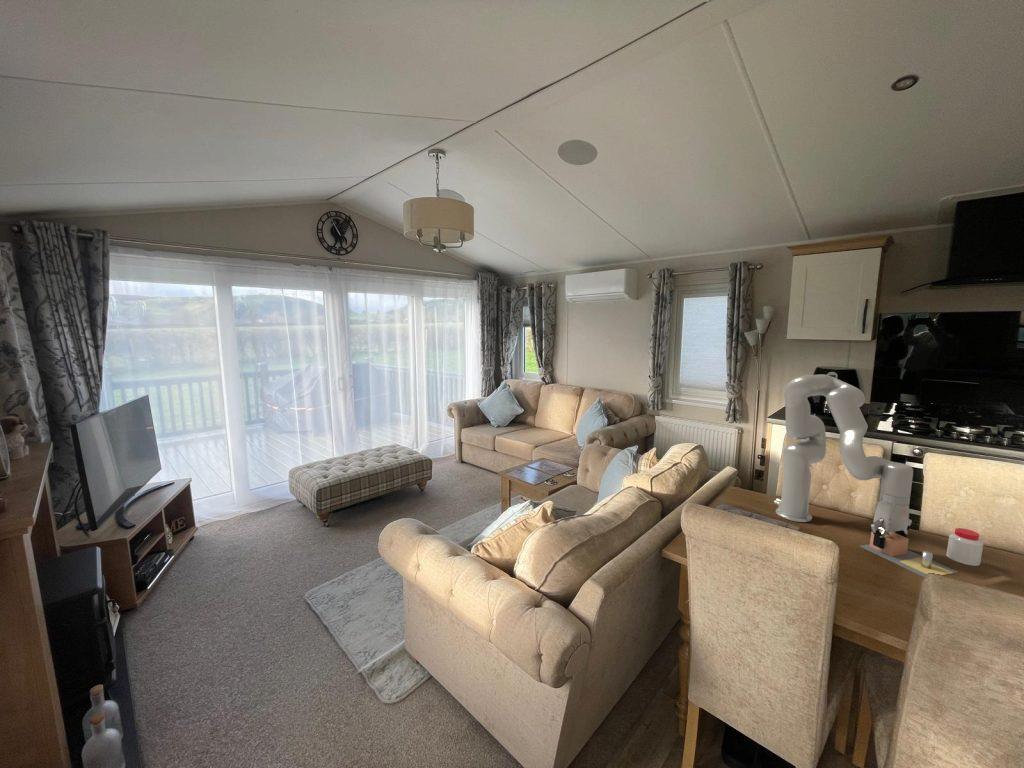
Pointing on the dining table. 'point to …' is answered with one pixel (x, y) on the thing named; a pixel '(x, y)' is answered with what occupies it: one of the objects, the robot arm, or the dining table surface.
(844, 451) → the robot arm
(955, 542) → the pill bottle
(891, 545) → the tan boxy piece
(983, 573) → the dining table surface
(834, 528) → the dining table surface
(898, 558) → the post board
